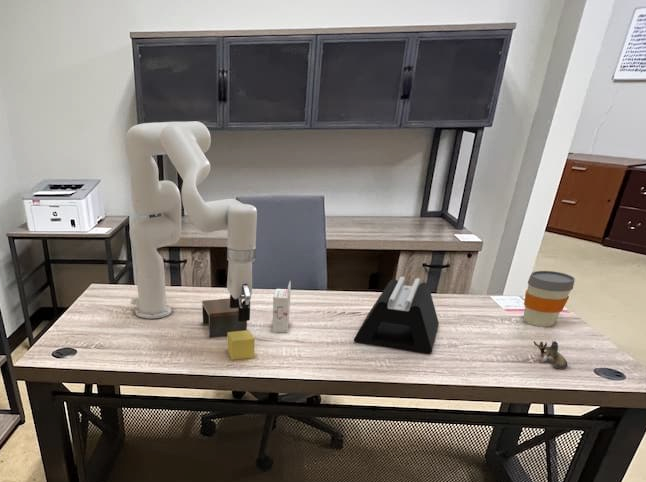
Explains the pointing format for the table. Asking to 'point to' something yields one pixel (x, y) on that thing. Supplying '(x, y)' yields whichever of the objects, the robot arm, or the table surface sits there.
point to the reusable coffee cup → (546, 297)
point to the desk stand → (221, 317)
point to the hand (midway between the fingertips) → (239, 314)
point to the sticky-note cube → (240, 344)
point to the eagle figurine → (552, 354)
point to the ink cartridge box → (281, 309)
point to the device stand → (401, 318)
